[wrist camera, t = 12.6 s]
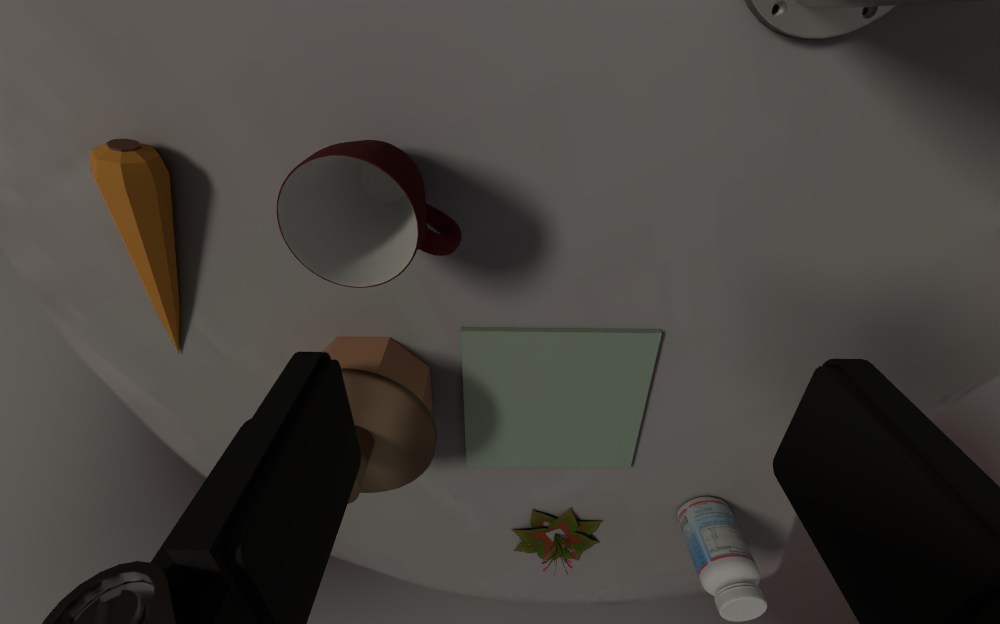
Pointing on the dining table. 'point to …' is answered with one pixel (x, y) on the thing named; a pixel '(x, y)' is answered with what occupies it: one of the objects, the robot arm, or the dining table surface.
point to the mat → (555, 395)
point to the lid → (388, 432)
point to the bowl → (384, 362)
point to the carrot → (143, 219)
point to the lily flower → (557, 537)
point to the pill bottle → (722, 558)
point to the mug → (360, 214)
